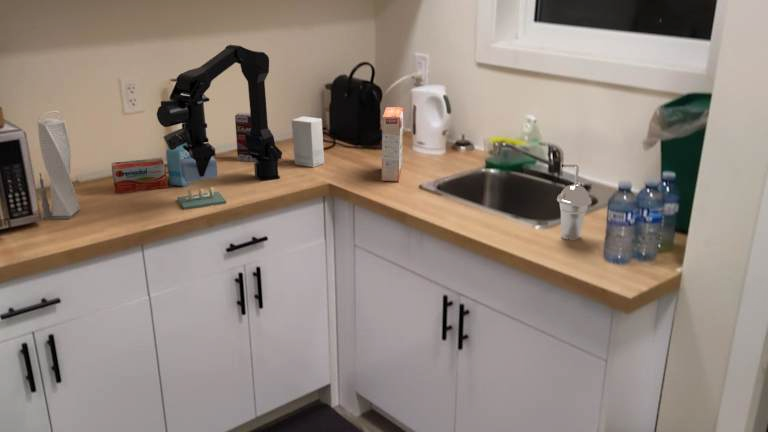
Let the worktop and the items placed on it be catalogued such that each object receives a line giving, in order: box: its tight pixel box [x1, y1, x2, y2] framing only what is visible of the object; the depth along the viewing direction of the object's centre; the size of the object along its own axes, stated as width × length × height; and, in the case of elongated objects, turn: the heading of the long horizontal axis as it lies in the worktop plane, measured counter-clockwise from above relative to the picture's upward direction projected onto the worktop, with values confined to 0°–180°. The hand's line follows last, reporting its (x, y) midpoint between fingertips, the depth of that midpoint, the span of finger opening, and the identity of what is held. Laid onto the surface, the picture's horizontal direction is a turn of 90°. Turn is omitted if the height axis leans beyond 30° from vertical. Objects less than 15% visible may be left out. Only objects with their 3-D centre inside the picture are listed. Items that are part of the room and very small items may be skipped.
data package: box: [166, 143, 194, 187], centre depth 219 cm, size 12×4×12 cm, turn 163°
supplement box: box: [234, 112, 256, 163], centre depth 241 cm, size 9×5×16 cm, turn 80°
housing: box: [180, 156, 219, 182], centre depth 200 cm, size 9×5×5 cm, turn 116°
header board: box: [176, 186, 227, 211], centre depth 203 cm, size 12×9×4 cm
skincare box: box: [291, 115, 325, 168], centre depth 236 cm, size 8×7×16 cm
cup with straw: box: [556, 163, 592, 241], centre depth 178 cm, size 8×9×20 cm
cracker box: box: [381, 106, 404, 182], centre depth 224 cm, size 14×6×21 cm, turn 175°
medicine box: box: [111, 157, 168, 195], centre depth 214 cm, size 15×8×8 cm, turn 113°
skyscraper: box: [37, 110, 81, 221], centre depth 189 cm, size 8×8×28 cm
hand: (199, 173), depth 201 cm, fingers closed on housing, 5 cm apart
